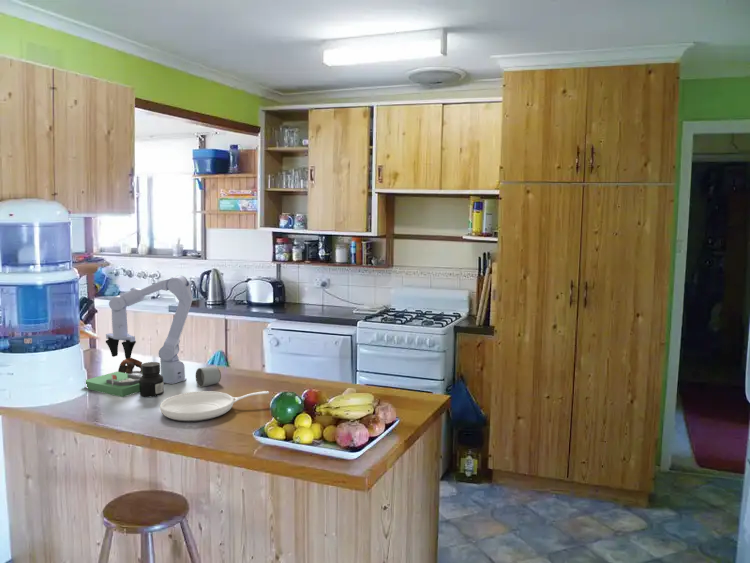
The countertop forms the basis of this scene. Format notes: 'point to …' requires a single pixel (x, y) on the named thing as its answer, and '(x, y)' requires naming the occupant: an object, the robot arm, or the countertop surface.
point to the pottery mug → (129, 365)
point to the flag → (113, 378)
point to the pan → (199, 405)
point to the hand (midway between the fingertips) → (121, 357)
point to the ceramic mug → (208, 376)
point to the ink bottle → (151, 380)
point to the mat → (115, 384)
